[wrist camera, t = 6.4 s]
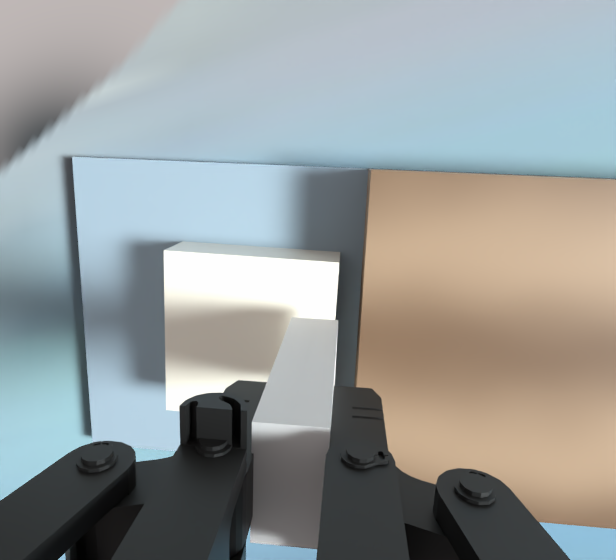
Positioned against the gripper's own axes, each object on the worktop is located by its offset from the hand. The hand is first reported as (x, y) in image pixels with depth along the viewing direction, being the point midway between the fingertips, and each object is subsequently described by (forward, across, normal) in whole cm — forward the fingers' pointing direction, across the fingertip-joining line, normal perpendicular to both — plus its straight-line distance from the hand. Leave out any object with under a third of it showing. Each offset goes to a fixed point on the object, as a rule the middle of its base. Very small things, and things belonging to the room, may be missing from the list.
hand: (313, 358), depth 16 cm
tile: (+3, +2, 0) cm, 4 cm away
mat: (+4, +4, 0) cm, 6 cm away
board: (+4, -8, 0) cm, 8 cm away
